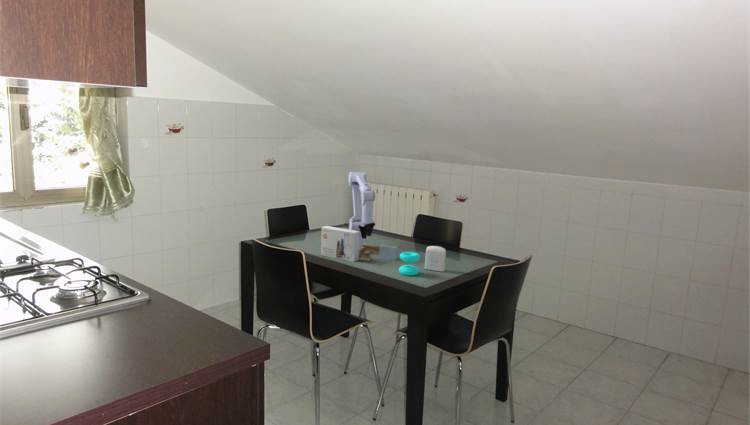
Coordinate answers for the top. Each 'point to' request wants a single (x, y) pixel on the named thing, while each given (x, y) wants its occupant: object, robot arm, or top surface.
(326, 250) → the skincare box
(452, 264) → the top surface
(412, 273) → the donuts
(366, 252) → the offcut stack
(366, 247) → the brown wooden l-shape
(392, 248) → the light blue block
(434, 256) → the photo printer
